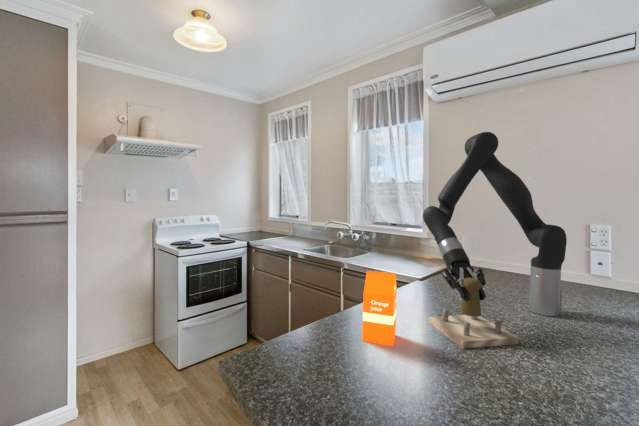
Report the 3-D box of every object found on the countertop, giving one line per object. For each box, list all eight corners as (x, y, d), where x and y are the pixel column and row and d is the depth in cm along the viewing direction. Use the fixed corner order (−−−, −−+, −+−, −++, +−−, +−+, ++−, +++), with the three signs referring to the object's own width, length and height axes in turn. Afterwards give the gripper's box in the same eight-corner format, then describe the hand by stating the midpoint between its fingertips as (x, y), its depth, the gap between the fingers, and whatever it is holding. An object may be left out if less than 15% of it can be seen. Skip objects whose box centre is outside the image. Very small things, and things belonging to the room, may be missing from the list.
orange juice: (392, 346, 87) (394, 276, 86) (362, 340, 90) (363, 273, 89) (395, 334, 94) (397, 270, 93) (367, 330, 97) (368, 268, 96)
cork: (483, 317, 93) (485, 281, 92) (462, 315, 94) (464, 280, 93) (477, 310, 99) (479, 276, 98) (457, 308, 100) (459, 275, 99)
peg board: (476, 319, 107) (476, 304, 107) (518, 343, 89) (519, 325, 89) (429, 322, 104) (429, 306, 103) (463, 348, 86) (463, 329, 86)
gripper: (438, 247, 101) (460, 294, 90) (477, 247, 104) (502, 293, 93) (429, 260, 107) (448, 306, 95) (466, 259, 109) (489, 304, 98)
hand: (475, 299), depth 94 cm, fingers closed on cork, 5 cm apart
